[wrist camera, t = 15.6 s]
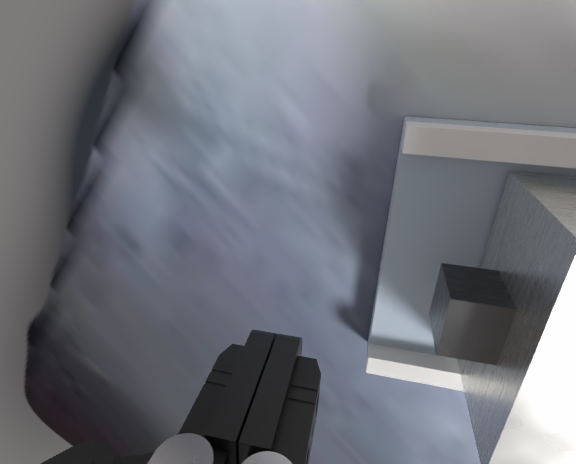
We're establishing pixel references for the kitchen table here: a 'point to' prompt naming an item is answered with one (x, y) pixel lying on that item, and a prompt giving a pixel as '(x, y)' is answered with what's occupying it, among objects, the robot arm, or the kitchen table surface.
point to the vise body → (446, 227)
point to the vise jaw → (518, 325)
